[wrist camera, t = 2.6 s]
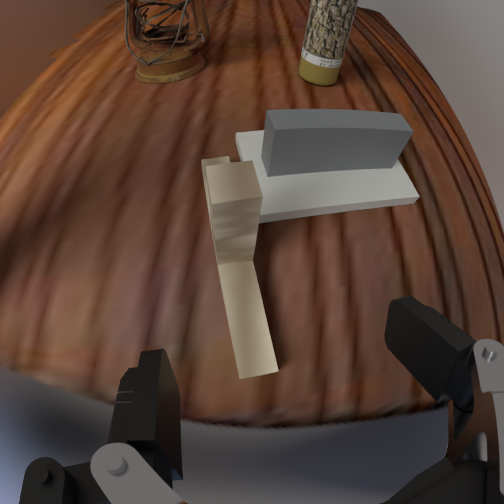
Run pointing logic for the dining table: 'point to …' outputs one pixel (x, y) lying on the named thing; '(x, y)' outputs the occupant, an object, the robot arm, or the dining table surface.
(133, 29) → the lantern
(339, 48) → the bark print canister
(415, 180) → the dining table surface
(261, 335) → the birch T-bar
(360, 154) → the ridge stand
